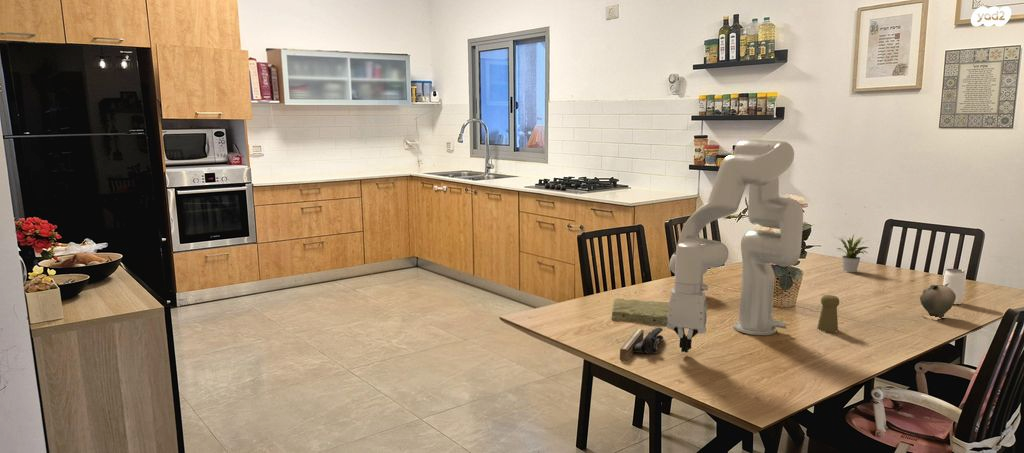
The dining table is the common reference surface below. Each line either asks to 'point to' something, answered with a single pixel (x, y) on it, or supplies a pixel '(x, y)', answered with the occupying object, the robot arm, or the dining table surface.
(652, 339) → the can opener
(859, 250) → the house plant
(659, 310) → the decorative tile
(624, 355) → the walnut rail
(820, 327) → the cork
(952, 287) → the can
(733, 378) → the dining table surface
